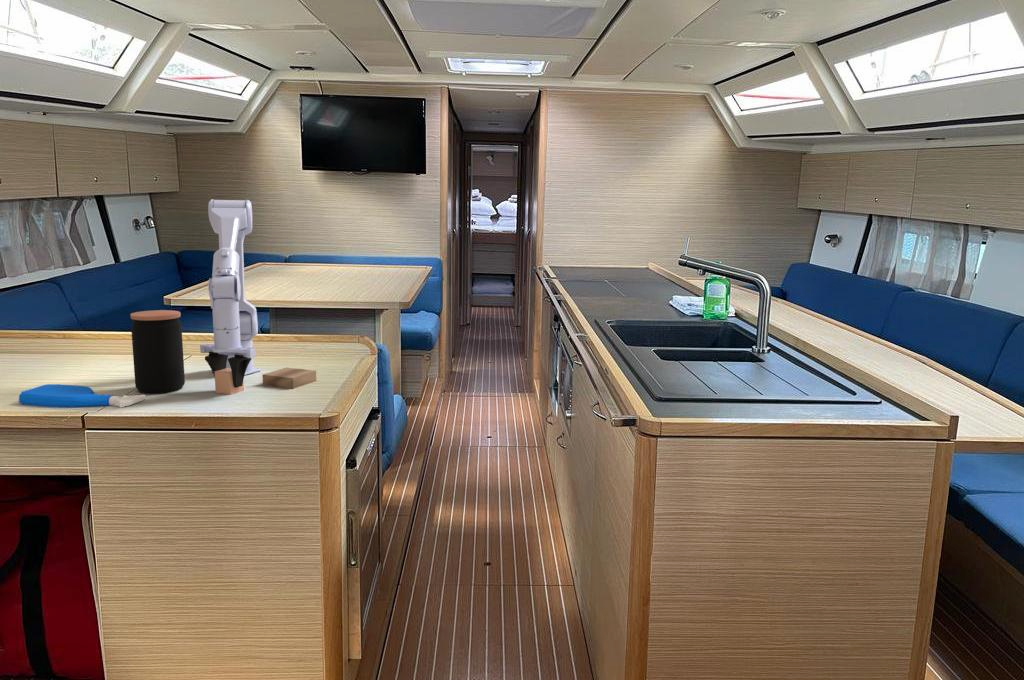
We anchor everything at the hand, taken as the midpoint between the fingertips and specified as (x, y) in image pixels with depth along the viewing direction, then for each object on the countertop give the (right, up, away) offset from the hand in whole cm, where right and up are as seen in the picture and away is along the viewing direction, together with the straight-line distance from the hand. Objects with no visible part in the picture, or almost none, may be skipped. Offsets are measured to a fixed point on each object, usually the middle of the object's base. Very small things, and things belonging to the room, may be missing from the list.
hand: (229, 385), depth 179 cm
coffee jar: (-17, -1, +2) cm, 17 cm away
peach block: (0, -1, 0) cm, 1 cm away
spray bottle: (-28, -4, -10) cm, 30 cm away
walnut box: (+11, 0, +10) cm, 15 cm away
